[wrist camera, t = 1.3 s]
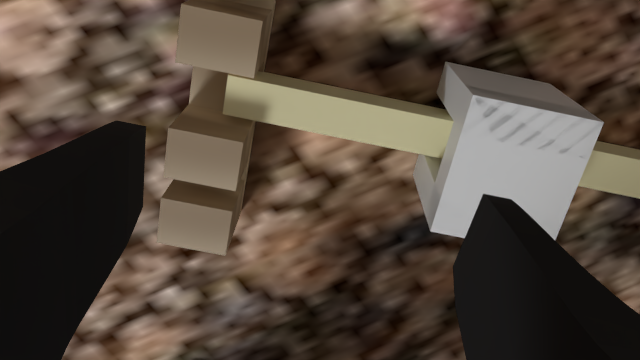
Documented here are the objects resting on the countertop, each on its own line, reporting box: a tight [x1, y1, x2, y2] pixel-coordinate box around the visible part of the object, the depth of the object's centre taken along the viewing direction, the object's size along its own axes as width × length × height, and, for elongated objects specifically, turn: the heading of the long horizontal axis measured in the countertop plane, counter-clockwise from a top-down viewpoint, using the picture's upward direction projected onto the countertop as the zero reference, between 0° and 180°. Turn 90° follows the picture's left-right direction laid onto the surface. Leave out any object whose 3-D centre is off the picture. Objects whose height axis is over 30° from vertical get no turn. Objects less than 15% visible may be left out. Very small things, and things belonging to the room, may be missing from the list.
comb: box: [157, 0, 276, 256], centre depth 20 cm, size 11×2×4 cm, turn 169°
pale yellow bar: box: [223, 71, 640, 199], centre depth 22 cm, size 1×23×2 cm, turn 78°
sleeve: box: [413, 62, 604, 240], centre depth 20 cm, size 5×4×5 cm
